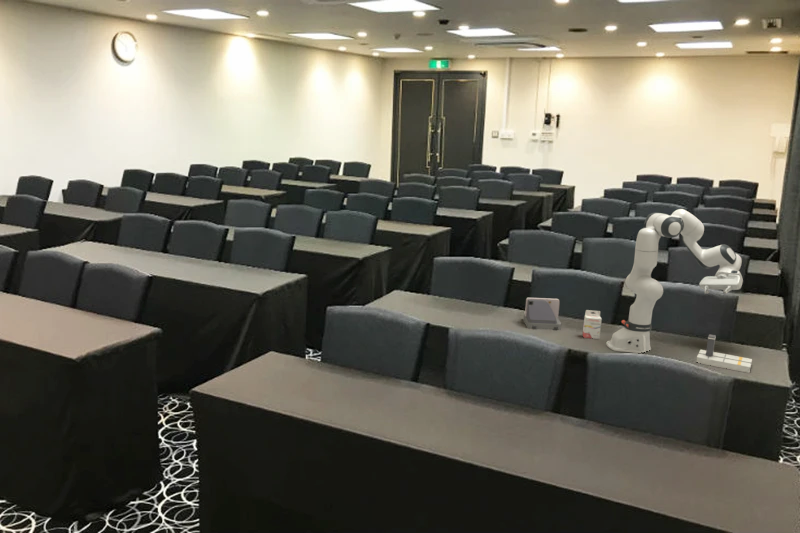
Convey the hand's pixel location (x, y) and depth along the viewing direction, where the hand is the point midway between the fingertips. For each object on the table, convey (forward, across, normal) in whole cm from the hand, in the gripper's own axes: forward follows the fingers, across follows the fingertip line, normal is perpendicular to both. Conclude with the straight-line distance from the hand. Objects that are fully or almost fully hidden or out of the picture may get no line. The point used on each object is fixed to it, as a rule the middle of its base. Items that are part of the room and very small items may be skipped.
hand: (715, 292), depth 351 cm
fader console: (+24, +5, +26) cm, 36 cm away
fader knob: (+24, -1, +23) cm, 33 cm away
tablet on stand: (+35, -87, -2) cm, 94 cm away
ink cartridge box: (+34, -58, +6) cm, 67 cm away
